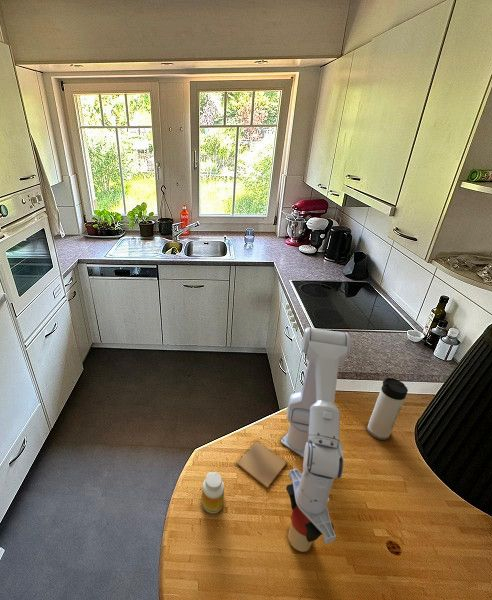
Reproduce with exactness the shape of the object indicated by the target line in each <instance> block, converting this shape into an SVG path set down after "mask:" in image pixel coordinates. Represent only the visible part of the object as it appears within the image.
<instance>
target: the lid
mask: <svg viewBox="0 0 492 600" xmlns="http://www.w3.org/2000/svg"><path fill="white" fill-rule="evenodd" d="M291 511H292V510H291ZM290 521H291V522H292V525H293V527H294V528H295V530H296V531H297V532H298V533H300V534H301V535H304V536H306V535H307V528H306V527H305V524H306V523H310V522H311V521H310V520H309V519H308V518H307V517H306V516H305V515H304V514H303V512H302V511H301V510H300V509H299V508H298V506H296V507H295V508H294V509H293V511H292V512H291V515H290ZM291 522H290V523H291Z"/></svg>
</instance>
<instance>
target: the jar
mask: <svg viewBox="0 0 492 600" xmlns="http://www.w3.org/2000/svg"><path fill="white" fill-rule="evenodd" d="M287 538H288V541H289V543H290V545H291V546H292V548H293V549H295V551H299V552H300V553H301V552H302V553H304V552H308V551H309V550H310V549H311V547H312V544H313V541H311V542H308V541H307V539H306V536H304V535H301V534H300V533H298V532H297V531H296V530H295V528H294V527H293V525H292V522H290V525H289V530H288V535H287Z"/></svg>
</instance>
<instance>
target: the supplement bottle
mask: <svg viewBox="0 0 492 600" xmlns="http://www.w3.org/2000/svg"><path fill="white" fill-rule="evenodd" d="M222 478H223V477H222V476H221V475H220V473H218V472H216V471H211V472H208V473H207V474H206V476H205V479H204V480H203V482H202V488H201V489H202V491H201V504H202V507H203V509H204V510H205V511H206V512H207V513H209V514H216V513H219V512H220V511H221V510H222V508H223V506H224V499H225V498H224V497H225V484H224V482H223V479H222Z"/></svg>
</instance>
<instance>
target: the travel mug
mask: <svg viewBox="0 0 492 600" xmlns="http://www.w3.org/2000/svg"><path fill="white" fill-rule="evenodd" d="M408 392H409V389H408V387H407V386H406V385H405V384H404V382H402V381H401V380H399V379H397V378H393V377H385V378H384V380H383V381H382V386H381V388H380V390H379V394H378V395H377V399H376V402H375V405H374V407H373V411H372V413H371V415H370V418H369V421H368V424H367V426H366V429H367V431H368V433H369V435H371V436H372V437H374V438H375V439H377V440H384V441H385V440H387V439H389V438H390V437H391V434H392V431H393V428H394V427H395V424H396V421H397V420H398V417H399V414H400V412H401V409H402V407H403V405H404V403H405V400H406V397H407V394H408Z"/></svg>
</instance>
